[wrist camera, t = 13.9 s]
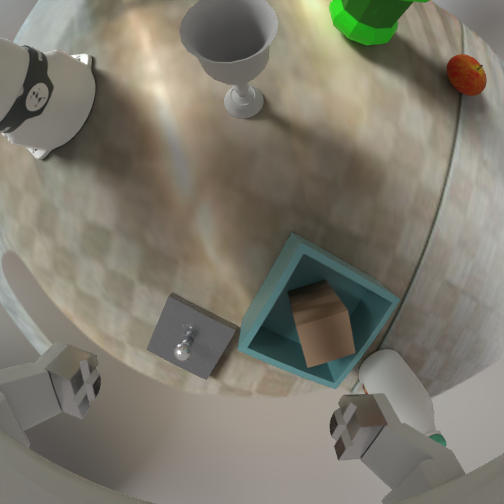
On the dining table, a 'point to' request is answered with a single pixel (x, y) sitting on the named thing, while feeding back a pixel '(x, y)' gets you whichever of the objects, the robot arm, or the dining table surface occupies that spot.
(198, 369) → the gray square plate
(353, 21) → the plastic bottle
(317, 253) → the bin
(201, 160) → the dining table surface
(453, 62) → the fruit
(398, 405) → the milk bottle
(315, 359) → the brown wooden block
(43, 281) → the dining table surface
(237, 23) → the chalice
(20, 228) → the dining table surface
